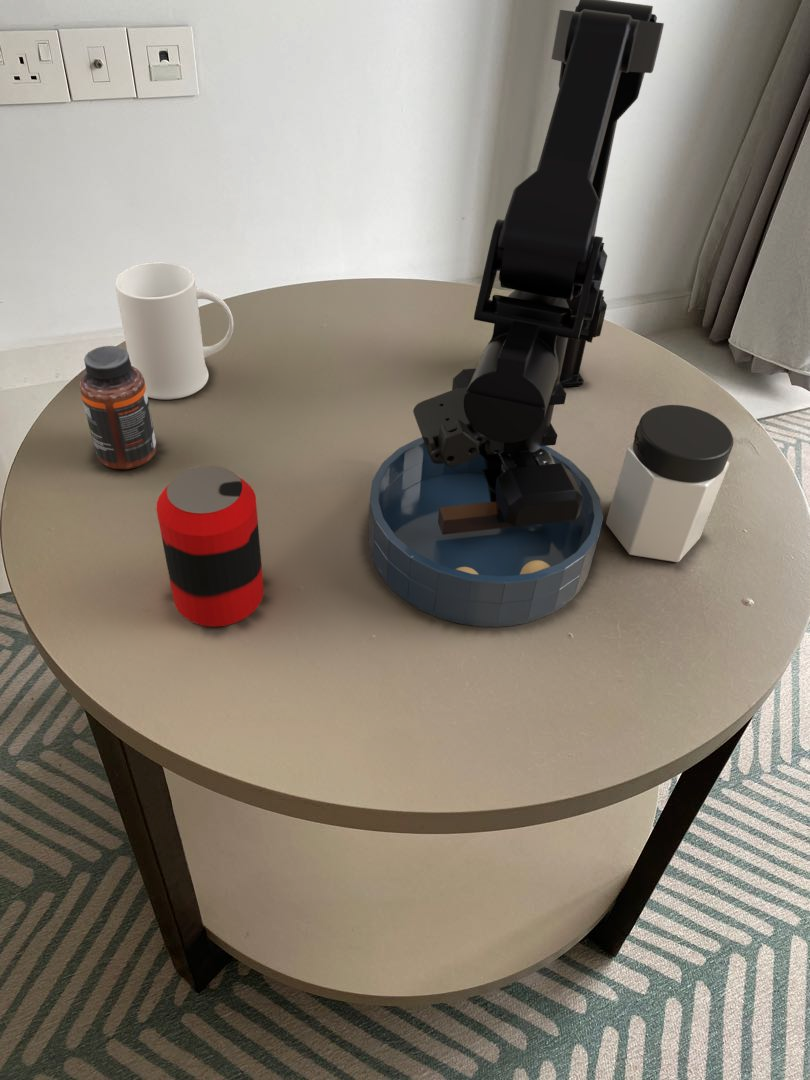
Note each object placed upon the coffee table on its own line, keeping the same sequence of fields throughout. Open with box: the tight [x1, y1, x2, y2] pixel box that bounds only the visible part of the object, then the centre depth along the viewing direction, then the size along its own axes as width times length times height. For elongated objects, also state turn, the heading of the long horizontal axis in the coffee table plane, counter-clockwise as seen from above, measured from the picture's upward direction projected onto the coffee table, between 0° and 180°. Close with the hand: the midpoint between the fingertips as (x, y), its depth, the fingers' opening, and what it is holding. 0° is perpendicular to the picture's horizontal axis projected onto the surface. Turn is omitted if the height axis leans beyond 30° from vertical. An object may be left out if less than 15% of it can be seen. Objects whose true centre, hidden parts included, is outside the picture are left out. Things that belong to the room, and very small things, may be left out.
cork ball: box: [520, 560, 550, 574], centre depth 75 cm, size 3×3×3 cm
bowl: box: [367, 436, 604, 628], centre depth 79 cm, size 21×21×6 cm
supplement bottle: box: [79, 345, 158, 470], centre depth 84 cm, size 6×6×11 cm
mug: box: [114, 261, 235, 401], centre depth 94 cm, size 12×8×12 cm
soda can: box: [155, 465, 265, 628], centre depth 70 cm, size 8×8×12 cm
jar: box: [605, 404, 734, 563], centre depth 79 cm, size 9×8×12 cm
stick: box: [438, 502, 514, 535], centre depth 80 cm, size 11×2×2 cm, turn 102°
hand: (499, 513), depth 80 cm, fingers closed on stick, 2 cm apart
